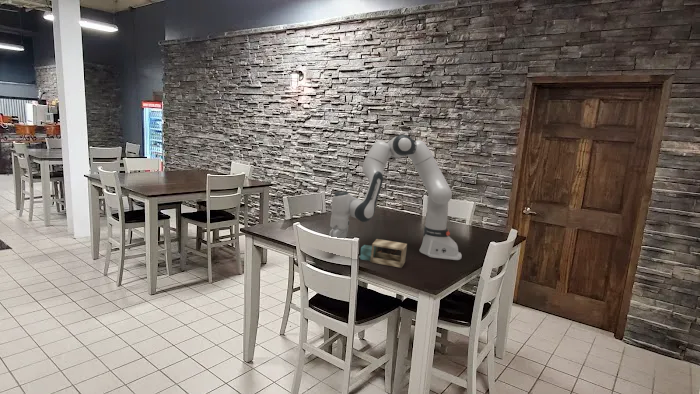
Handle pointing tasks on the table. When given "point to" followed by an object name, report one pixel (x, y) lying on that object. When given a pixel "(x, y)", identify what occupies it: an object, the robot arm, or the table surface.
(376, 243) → the cubby shelf
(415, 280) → the table surface
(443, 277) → the table surface
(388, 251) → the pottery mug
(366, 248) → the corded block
